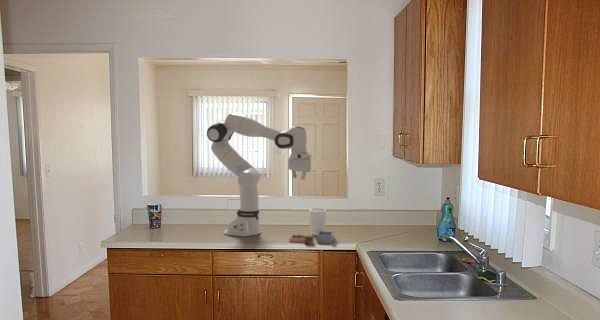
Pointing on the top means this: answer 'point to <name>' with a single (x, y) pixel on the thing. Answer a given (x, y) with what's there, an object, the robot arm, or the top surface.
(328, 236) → the grey open box
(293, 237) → the dish
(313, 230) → the jar
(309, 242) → the block
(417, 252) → the top surface
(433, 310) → the top surface
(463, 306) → the top surface
